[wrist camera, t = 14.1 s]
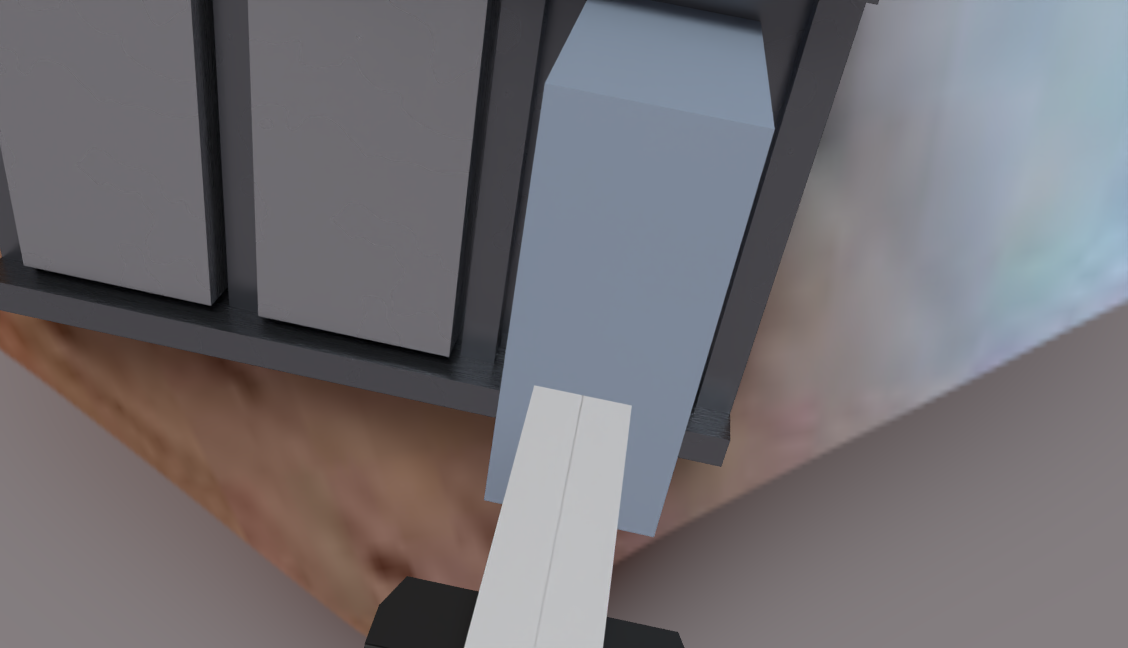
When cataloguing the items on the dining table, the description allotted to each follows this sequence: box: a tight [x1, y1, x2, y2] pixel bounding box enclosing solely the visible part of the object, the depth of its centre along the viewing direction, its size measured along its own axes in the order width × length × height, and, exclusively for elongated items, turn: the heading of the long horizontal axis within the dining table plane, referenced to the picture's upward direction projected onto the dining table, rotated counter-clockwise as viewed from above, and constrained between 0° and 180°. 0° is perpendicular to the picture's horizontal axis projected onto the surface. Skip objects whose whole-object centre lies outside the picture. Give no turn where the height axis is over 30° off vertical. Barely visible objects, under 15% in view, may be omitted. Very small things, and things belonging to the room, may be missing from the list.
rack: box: [0, 0, 879, 467], centre depth 24 cm, size 22×14×4 cm, turn 81°
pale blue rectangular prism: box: [484, 0, 775, 537], centre depth 21 cm, size 4×10×7 cm, turn 171°
